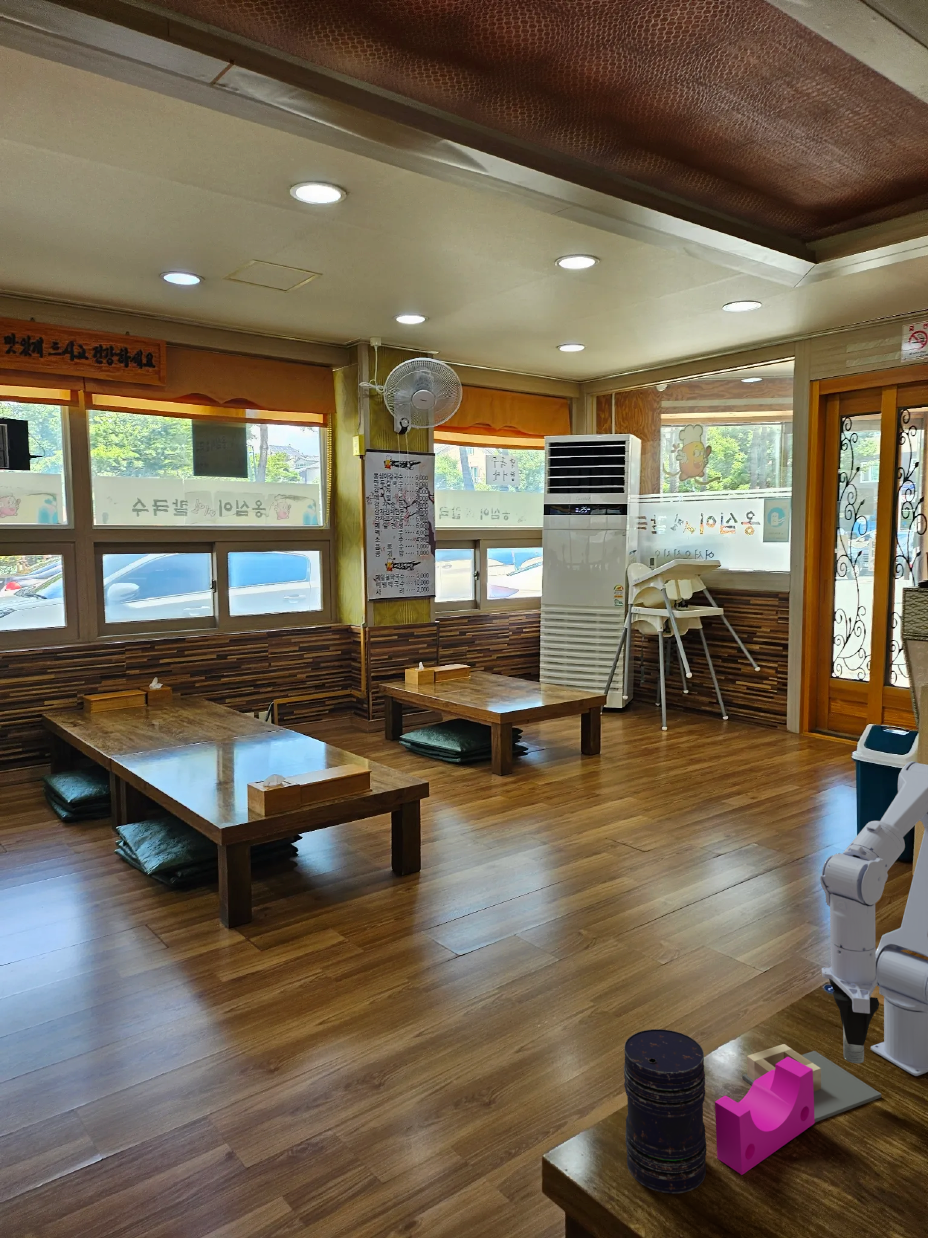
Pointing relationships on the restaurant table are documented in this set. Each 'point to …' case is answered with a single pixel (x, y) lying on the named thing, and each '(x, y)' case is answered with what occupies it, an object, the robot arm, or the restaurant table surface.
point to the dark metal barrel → (665, 1110)
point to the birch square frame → (768, 1058)
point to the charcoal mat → (835, 1089)
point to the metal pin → (852, 1051)
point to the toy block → (765, 1115)
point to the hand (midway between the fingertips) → (853, 1037)
